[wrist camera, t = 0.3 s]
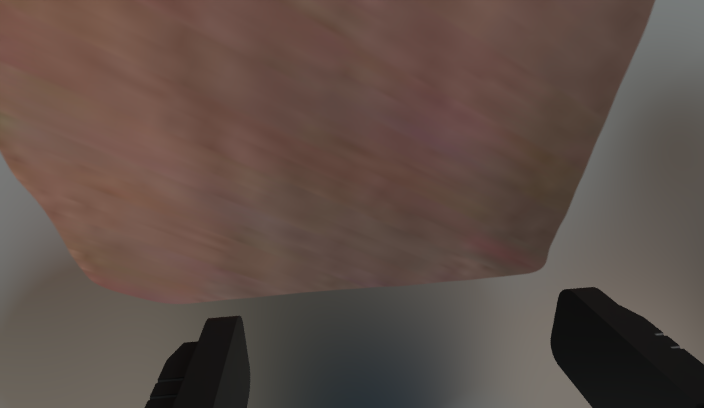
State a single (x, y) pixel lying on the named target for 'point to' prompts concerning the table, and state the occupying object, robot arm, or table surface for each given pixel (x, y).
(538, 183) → the table surface
